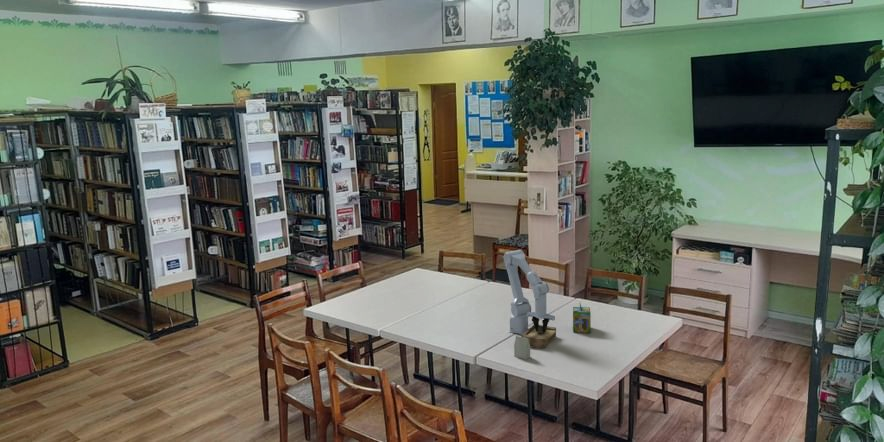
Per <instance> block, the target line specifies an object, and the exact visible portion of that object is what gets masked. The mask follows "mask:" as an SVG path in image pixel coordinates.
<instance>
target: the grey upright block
mask: <svg viewBox="0 0 884 442" xmlns="http://www.w3.org/2000/svg"><path fill="white" fill-rule="evenodd" d="M513 344H514V345H513V346H514V347H513V348H514V349H513V351H514V352H513V353H514V354H513V355H514V357H515V358H518V359H519V358H520V359H522V360H526V361H527V360H528V359H529V358H531V347H530V343H529V339H528V338H524V337H521V336H519V335H516V336H515V340H514V343H513Z"/></svg>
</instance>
